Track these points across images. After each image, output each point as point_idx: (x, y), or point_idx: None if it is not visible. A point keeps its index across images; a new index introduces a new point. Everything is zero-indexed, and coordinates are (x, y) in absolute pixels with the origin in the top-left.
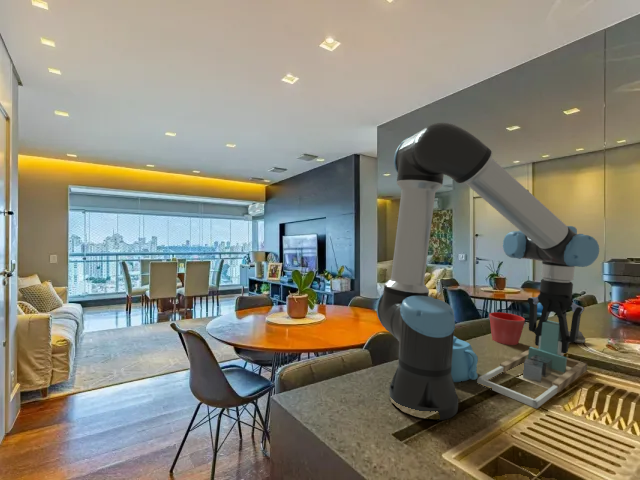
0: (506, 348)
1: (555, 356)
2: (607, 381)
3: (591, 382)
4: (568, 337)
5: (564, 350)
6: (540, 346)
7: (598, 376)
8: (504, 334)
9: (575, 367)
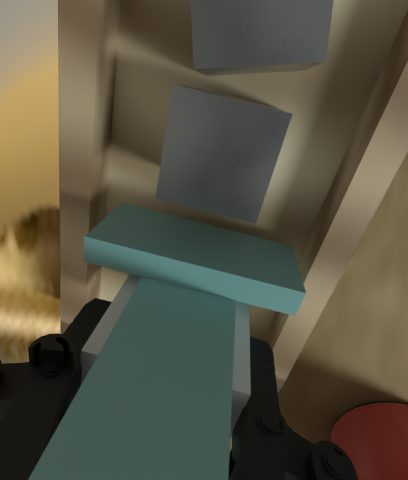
0: (378, 388)
1: (143, 247)
2: (18, 282)
3: (49, 234)
4: (3, 398)
5: (92, 311)
6: (236, 324)
7: (51, 309)
8: None
9: (79, 260)
